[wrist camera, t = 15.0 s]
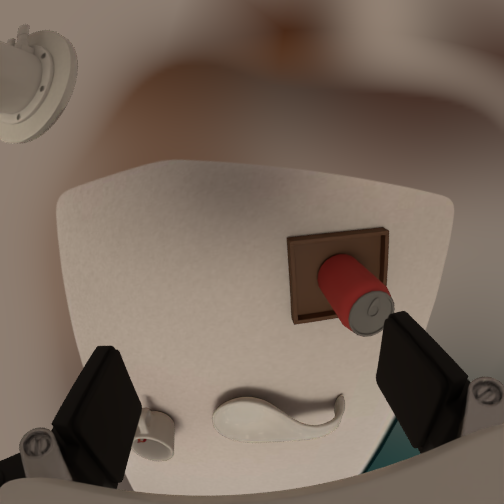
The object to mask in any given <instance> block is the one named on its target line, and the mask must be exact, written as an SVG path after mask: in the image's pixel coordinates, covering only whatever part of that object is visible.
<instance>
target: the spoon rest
mask: <svg viewBox="0 0 504 504" xmlns="http://www.w3.org/2000/svg"><path fill="white" fill-rule="evenodd" d="M344 410H345V400H344V396H343V395H340V396H339V397H338V398H337V400H336V403H335V407H334V413H335V417H334V418H333V419H332V420H331V421H329V422H327V423H324V424H321V425H307V424H304V423H301V422H299V421H297V420H295V419H293V418H292V417H290V416H289V415H287V414H285V413H284V412H283V411H281V410H280V409H278V408H277V407H275V406H274V405H272V404H270V403H269V402H267V401H264V400H262V399H259V398H254V397H239V398H235V399H232V400H229V401H227V402H225V403H224V404H222V405H221V406H219V407H218V408H217V409H216V410H215V412H214V414H213V417H212V423H213V426H214V428H215V429H216V430H217V432H218V433H220V434H221V435H222V436H224V437H226V438H228V439H231V440H235V441H239V442H247V443H265V442H284V441H300V440H309V439H316V438H320V437H323V436H326V435H328V434H330V433H331V432H333V431H334V430H336V429H337V427H338V426H339V424H340V422H341V418H342V415H343V413H344Z"/></svg>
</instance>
